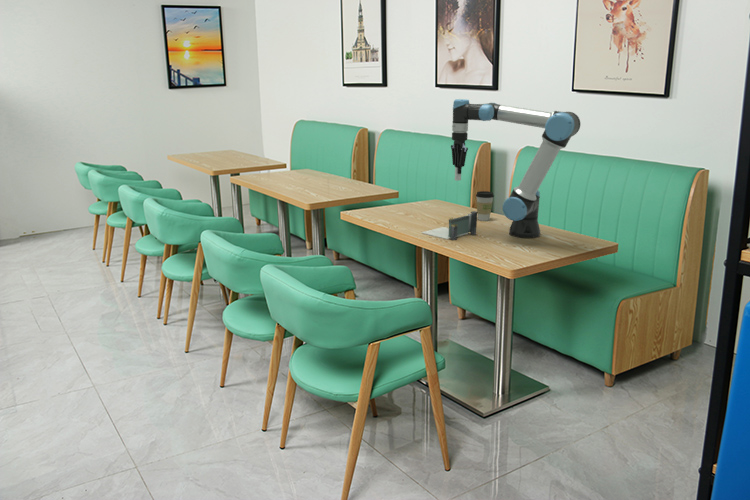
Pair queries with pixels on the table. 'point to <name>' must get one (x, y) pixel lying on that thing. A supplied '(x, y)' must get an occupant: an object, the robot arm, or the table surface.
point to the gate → (461, 224)
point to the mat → (440, 233)
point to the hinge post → (473, 222)
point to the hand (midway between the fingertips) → (457, 180)
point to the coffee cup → (484, 205)
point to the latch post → (454, 232)
